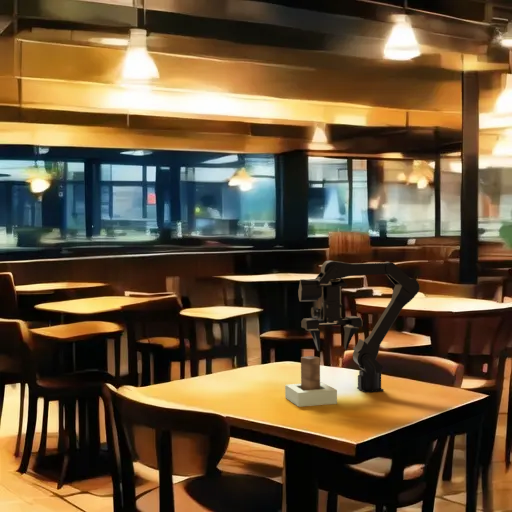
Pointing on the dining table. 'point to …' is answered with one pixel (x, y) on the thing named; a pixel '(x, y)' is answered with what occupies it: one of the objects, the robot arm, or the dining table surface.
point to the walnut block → (310, 373)
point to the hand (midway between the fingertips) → (332, 349)
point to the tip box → (311, 395)
